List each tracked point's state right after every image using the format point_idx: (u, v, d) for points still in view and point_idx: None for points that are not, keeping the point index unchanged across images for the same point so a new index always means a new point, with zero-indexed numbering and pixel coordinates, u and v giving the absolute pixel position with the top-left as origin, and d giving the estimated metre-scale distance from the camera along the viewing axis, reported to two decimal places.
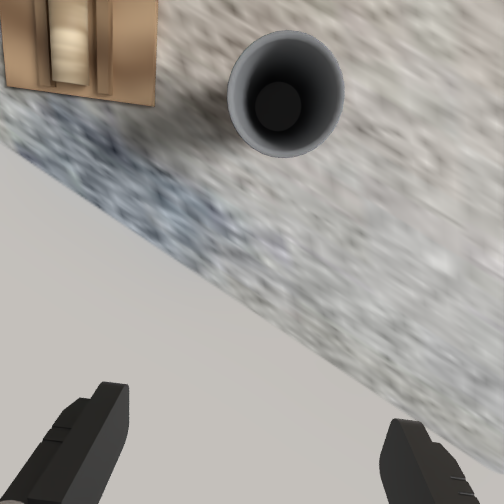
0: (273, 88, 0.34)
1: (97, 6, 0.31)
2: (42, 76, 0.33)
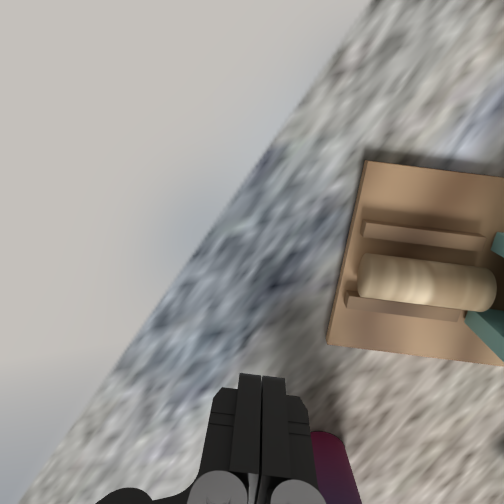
0: None
1: (445, 309, 0.26)
2: (376, 228, 0.24)
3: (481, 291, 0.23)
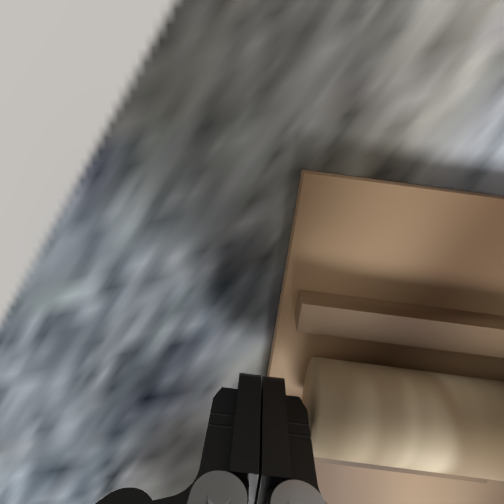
0: None
1: None
2: (324, 315, 0.11)
3: None
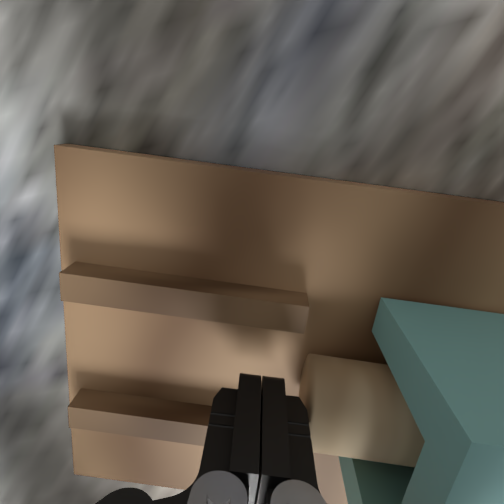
0: None
1: None
2: (82, 284, 0.12)
3: None
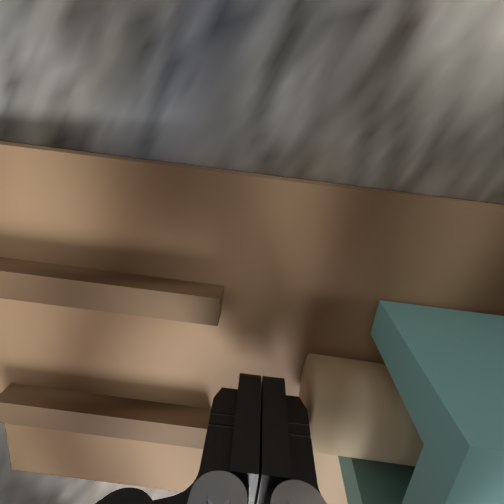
0: None
1: (178, 427, 0.13)
2: None
3: None
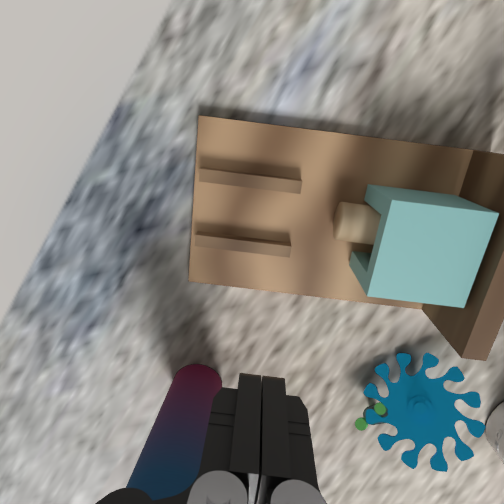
0: None
1: (278, 246, 0.30)
2: (209, 173, 0.28)
3: None
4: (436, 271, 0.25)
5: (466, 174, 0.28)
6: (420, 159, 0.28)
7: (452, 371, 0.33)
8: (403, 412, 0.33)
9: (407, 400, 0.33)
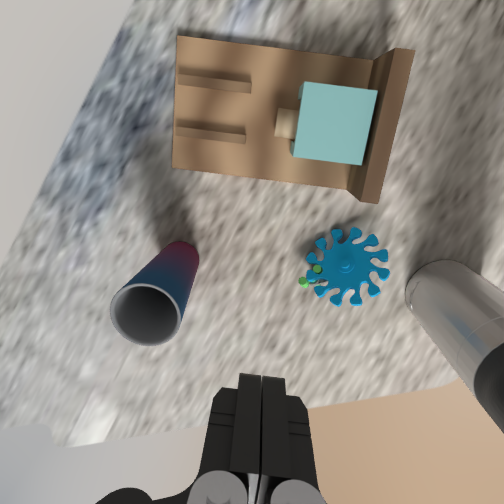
0: None
1: (236, 134, 0.41)
2: (184, 77, 0.39)
3: None
4: (339, 136, 0.36)
5: (369, 78, 0.39)
6: (335, 68, 0.39)
7: (370, 237, 0.43)
8: (333, 269, 0.44)
9: (337, 260, 0.44)
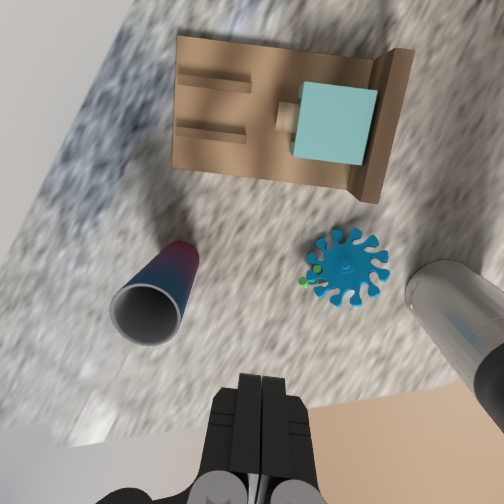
0: None
1: (236, 134, 0.41)
2: (184, 77, 0.39)
3: None
4: (339, 136, 0.36)
5: (369, 78, 0.39)
6: (336, 68, 0.39)
7: (370, 238, 0.43)
8: (333, 269, 0.44)
9: (337, 261, 0.44)
